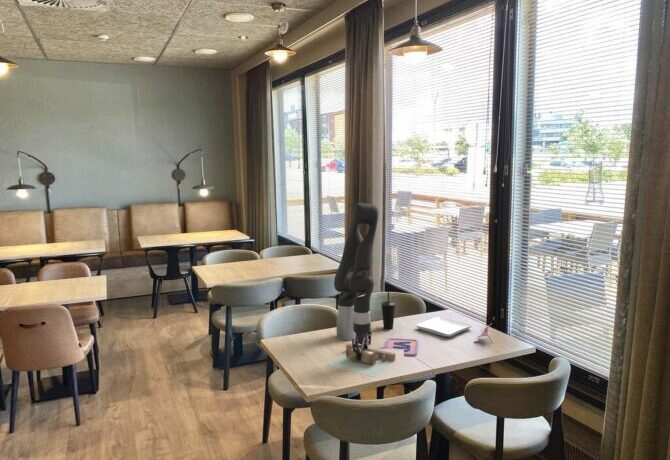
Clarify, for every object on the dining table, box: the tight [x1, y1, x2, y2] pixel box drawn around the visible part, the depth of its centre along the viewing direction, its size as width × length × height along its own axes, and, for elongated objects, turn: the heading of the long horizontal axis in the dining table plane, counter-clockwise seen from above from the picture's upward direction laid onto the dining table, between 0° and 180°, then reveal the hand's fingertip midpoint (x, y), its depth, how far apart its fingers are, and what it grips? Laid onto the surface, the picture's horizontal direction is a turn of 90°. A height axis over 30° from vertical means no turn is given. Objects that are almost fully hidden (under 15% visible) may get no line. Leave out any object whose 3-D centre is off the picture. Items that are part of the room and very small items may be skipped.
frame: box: [345, 346, 378, 364], centre depth 224 cm, size 13×6×4 cm, turn 58°
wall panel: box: [325, 343, 396, 378], centre depth 223 cm, size 24×20×4 cm
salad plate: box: [415, 315, 473, 338], centre depth 265 cm, size 21×21×3 cm
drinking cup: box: [380, 290, 397, 331], centre depth 268 cm, size 8×8×20 cm
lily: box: [475, 322, 493, 342], centre depth 248 cm, size 12×12×10 cm
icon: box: [374, 337, 419, 357], centre depth 243 cm, size 19×2×20 cm
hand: (362, 357), depth 225 cm, fingers closed on frame, 5 cm apart
